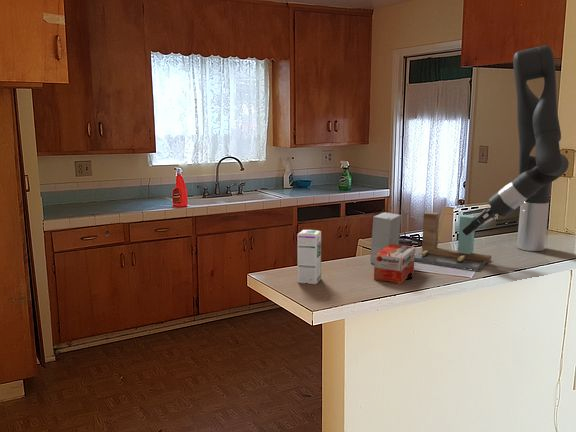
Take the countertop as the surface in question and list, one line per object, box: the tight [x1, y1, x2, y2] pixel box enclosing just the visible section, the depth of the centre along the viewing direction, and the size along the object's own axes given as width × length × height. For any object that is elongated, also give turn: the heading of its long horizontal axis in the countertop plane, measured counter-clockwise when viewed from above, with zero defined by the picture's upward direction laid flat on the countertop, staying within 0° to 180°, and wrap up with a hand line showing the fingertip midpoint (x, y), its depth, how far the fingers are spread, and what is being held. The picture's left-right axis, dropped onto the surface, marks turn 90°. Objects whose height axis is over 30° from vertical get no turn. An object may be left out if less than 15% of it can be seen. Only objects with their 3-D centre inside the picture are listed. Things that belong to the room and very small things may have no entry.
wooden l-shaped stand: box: [421, 211, 493, 263], centre depth 176 cm, size 9×22×14 cm, turn 57°
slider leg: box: [457, 214, 477, 261], centre depth 175 cm, size 9×4×14 cm, turn 147°
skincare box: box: [369, 211, 402, 265], centre depth 174 cm, size 8×7×16 cm
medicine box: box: [373, 244, 416, 285], centre depth 161 cm, size 15×8×8 cm, turn 152°
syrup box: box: [296, 229, 322, 285], centre depth 154 cm, size 6×6×14 cm
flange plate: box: [414, 251, 488, 272], centre depth 178 cm, size 16×21×1 cm
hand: (468, 230), depth 176 cm, fingers open, 8 cm apart
